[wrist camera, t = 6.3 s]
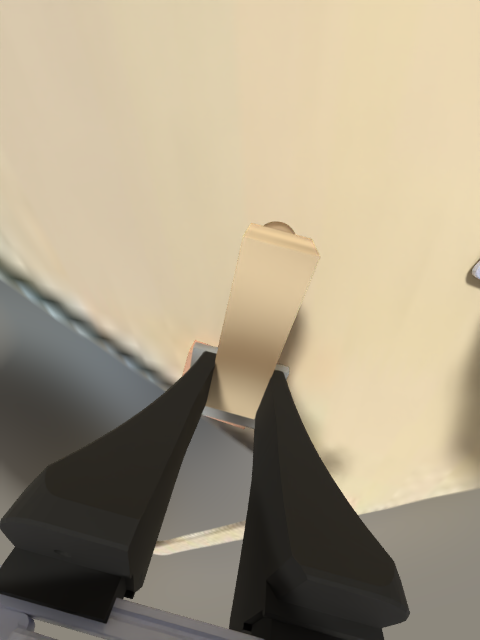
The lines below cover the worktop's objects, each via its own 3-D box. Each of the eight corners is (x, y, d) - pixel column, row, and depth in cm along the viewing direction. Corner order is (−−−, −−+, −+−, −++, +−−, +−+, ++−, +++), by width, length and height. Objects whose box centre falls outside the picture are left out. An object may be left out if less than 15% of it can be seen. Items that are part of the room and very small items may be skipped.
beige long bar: (217, 205, 11) (184, 221, 7) (345, 239, 11) (378, 272, 7) (186, 403, 18) (162, 461, 15) (263, 424, 18) (258, 487, 15)
